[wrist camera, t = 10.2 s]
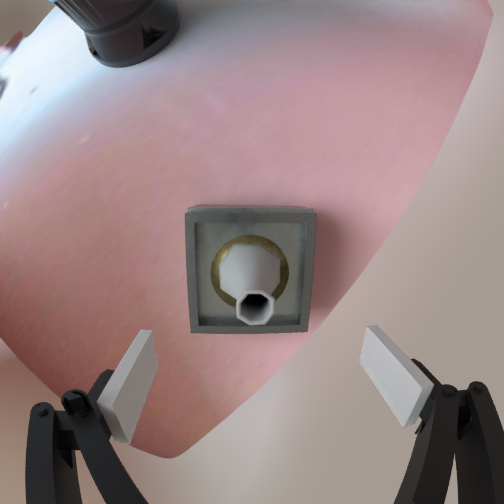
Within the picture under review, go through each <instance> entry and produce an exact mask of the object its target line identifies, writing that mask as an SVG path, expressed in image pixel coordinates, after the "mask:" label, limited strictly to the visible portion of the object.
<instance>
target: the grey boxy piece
mask: <svg viewBox="0 0 504 504" xmlns="http://www.w3.org/2000/svg"><path fill="white" fill-rule="evenodd" d="M315 233H316V214H313V209H309V208H305V207H297V206H255V205H196V206H192V207H189V208H187V213H185V242H186V268H187V287H188V302H189V316H190V328H191V333H207V334H263V333H292V332H307V331H308V322H309V312H310V302H311V291H312V279H313V266H314V251H315ZM238 243H261V244H262V245H263V246H265V247H266V248H268V249H269V250H270V251H272V252H273V253H274V254H276V255H277V256H279V257H280V258H281V259H280V283H279V284H278V286H277V287H276V288H275V289H274V291H273V292H272V294H271V295H272V296H273V297H274V298H275V314H274V315H273V316H272V317H271V318H270V320H269V321H268V322H267V323H266V324H265V325H248V324H247V323H245V322H243V321H242V320H240V319H239V318H237V309H236V302H237V300H236V299H235V298H234V297H232V296H231V295H229V294H228V293H226V292H225V291H223V290H222V289H220V274H219V264H220V262H221V261H222V259H223V258H224V257H225V255H226V254H227V253H228V251H229V250H230V248H231V247H232V246H233V244H238Z"/></svg>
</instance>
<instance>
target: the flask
mask: <svg viewBox="0 0 504 504" xmlns="http://www.w3.org/2000/svg"><path fill="white" fill-rule="evenodd" d="M280 259H281V258H280V257H279V256H277V255H276V254H274V253H273V252H272V251H270V250H269V249H268V248H266V247H265V246H263V245H262V244H261V243H238V244H233V246H232V247H231V248H230V250H229V251H228V253H227V254H226V255H225V257H224V258H223V259H222V261H221V262H220V264H219V274H220V289H222V290H223V291H225V292H226V293H228V294H229V295H231V296H232V297H234V298H235V299H236V300H237V302H236V309H237V318H239V319H240V320H242V321H243V322H245V323H247V324H248V325H265V324H266V323H267V322H268V321H269V320H270V318H271V317H272V316H273V315H274V314H275V298H274V297H273V296H272V295H271V294H272V292H273V291H274V289H275V288H276V287H277V286H278V284H279V283H280Z"/></svg>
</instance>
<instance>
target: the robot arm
mask: <svg viewBox="0 0 504 504" xmlns="http://www.w3.org/2000/svg"><path fill="white" fill-rule="evenodd" d="M49 1H50V2H53V3H54V4H55V5H56V6H58V7H59V8H60V9H61V10H62V11H63V12H64V13H65V14H66V15H67V16H68V17H69V18H71V19H72V20H73V21H74V22H75V23H76V24H77V25H78V26H79V27H80V28H81V29H82V30H83V31H84V33H85V37H86V40H87V44H88V47H89V50H90V52H91V54H92V56H93V57H94V58H95V59H97V60H98V61H99V62H100V63H101V64H103V65H105V66H108V67H126V66H131V65H134V64H137V63H140V62H142V61H144V60H146V59H148V58H150V57H152V56H153V55H155V54H156V53H158V52H159V51H160V50H162V49H163V48H164V47H165V46H166V45H167V44H168V43H169V42H170V41H171V40H172V38H173V37H174V36H175V34H176V32H177V30H178V28H179V25H180V13H179V10H178V7H177V5H176V3H175V2H174V0H49ZM359 362H360V364H361V365H362V366H363V368H364V369H365V371H366V372H367V374H368V375H369V377H370V378H371V380H372V381H373V383H374V384H375V386H376V387H377V388H378V390H379V392H380V393H381V395H382V396H383V398H384V399H385V401H386V402H387V404H388V405H389V407H390V408H391V410H392V411H393V413H394V414H395V416H396V417H397V419H398V420H399V422H400V423H401V425H402V427H403V428H404V427H407V426H410V425H413V424H415V422H416V420H417V419H418V417H419V416H420V418H421V419H422V421H421V423H420V425H419V427H418V429H417V430H416V432H415V434H417V432H418V434H417V438H416V441H415V445H414V448H413V452H412V455H411V458H410V461H409V465H408V467H407V470H406V473H405V476H404V479H403V482H402V484H401V487H400V489H399V492H398V494H397V497H396V499H395V502H394V504H444V502H445V498H446V494H447V490H448V486H449V480H450V476H451V471H452V466H453V459H454V453H455V460H456V469H457V481H458V504H504V431H503V428H502V425H501V422H500V419H499V416H498V413H497V411H496V408H495V405H494V403H493V400H492V398H491V395H490V393H489V391H488V388H487V387H486V385H484V384H483V383H482V382H477V381H475V382H472V383H470V385H469V387H468V389H467V390H459V391H458V390H457V389H456V388H455V387H454V386H452V385H446V384H444V385H442V384H441V383H440V382H439V381H438V380H437V379H436V378H435V377H434V376H433V375H432V374H431V373H430V372H429V371H428V370H427V369H426V368H425V366H423V364H422V363H420V362H419V361H417V360H415V359H410V358H409V357H408V356H407V355H406V354H405V353H404V352H403V351H402V350H401V349H400V348H399V347H398V346H397V345H396V344H395V343H394V342H393V341H392V340H391V339H390V338H389V337H388V336H387V334H386V333H385V332H384V331H383V330H382V329H381V328H379V326H378V325H373V326H367V329H366V333H365V339H364V343H363V347H362V351H361V356H360V360H359ZM158 368H159V366H158V361H157V356H156V350H155V344H154V338H153V332H152V330H140V331H139V333H138V334H137V336H136V337H135V339H134V341H133V342H132V344H131V345H130V347H129V349H128V350H127V352H126V353H125V355H124V357H123V358H122V360H121V361H120V363H119V365H118V366H117V368H116V370H115V371H114V370H108V369H107V370H106V371H104V372H103V373H101V374H100V376H99V377H98V379H97V380H96V382H95V383H94V385H93V387H92V388H91V390H90V391H89V393H88V394H86V393H85V392H84V391H82V390H78V389H74V390H70V391H67V392H66V393H65V394H63V396H62V398H61V403H62V405H63V406H64V409H65V411H56V410H54V408H53V406H52V405H51V404H49V403H47V402H41V403H38V404H35V405H34V406H33V407H32V409H31V413H30V420H29V427H28V437H27V448H26V470H25V473H26V474H25V483H26V484H25V485H26V504H82V499H81V493H80V487H79V481H78V474H77V466H76V457H75V450H81V453H82V455H83V458H84V460H85V462H86V464H87V467H88V469H89V471H90V473H91V475H92V478H93V480H94V481H95V484H96V486H97V487H98V490H99V491H100V493H101V495H102V497H103V499H104V501H105V502H106V504H149V503H148V502H147V501H146V499H145V498H144V497H143V495H142V494H141V492H140V491H139V489H138V488H137V487H136V485H135V484H134V482H133V481H132V479H131V478H130V476H129V474H128V473H127V471H126V469H125V468H124V466H123V465H122V463H121V461H120V459H119V458H118V456H117V454H116V452H115V451H114V449H113V447H112V445H111V443H110V442H109V439H110V437H111V435H112V436H113V438H114V440H115V441H116V442H120V443H124V444H129V445H130V442H131V440H132V437H133V434H134V431H135V428H136V426H137V423H138V420H139V417H140V415H141V412H142V409H143V407H144V404H145V401H146V399H147V396H148V393H149V391H150V388H151V386H152V383H153V381H154V378H155V375H156V373H157V370H158Z"/></svg>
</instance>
